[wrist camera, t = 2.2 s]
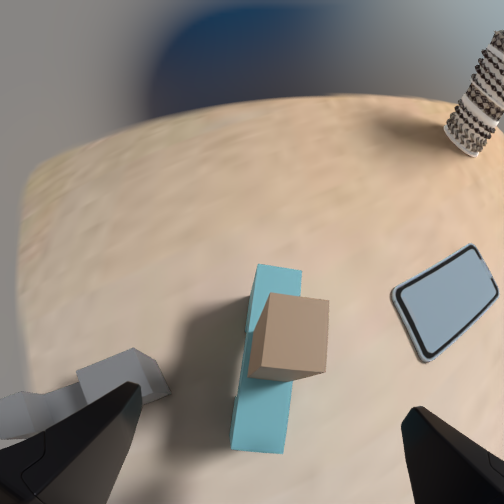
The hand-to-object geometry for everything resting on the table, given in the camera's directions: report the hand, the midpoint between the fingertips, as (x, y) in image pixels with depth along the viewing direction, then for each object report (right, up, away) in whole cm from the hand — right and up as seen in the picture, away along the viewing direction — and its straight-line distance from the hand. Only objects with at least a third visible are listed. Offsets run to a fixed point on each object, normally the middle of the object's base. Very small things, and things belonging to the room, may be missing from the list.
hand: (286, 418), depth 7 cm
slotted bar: (-12, -6, +7) cm, 15 cm away
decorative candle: (+37, +25, +30) cm, 54 cm away
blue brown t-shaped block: (-1, -3, +10) cm, 11 cm away
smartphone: (+18, +1, +15) cm, 24 cm away
